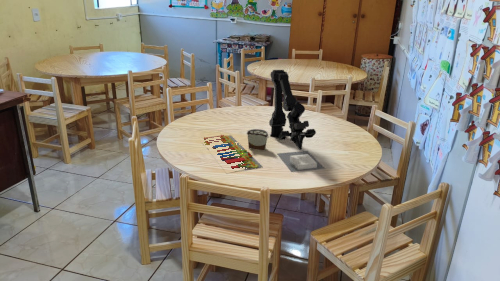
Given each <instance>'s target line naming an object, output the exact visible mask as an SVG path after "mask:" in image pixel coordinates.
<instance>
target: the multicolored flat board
mask: <svg viewBox="0 0 500 281" xmlns="http://www.w3.org/2000/svg"><path fill="white" fill-rule="evenodd" d="M214 137H220V138H221V139H216V140H221V141H222V142H223V143H228V144H221V145H215V146H213V147H212V148H213V149H216V148H218V147H226V146H229V148H228V149H222V150H217V152H220V151H226V150H229V149H231V150H236V151H230V152H225V153H218V154H217V155H222V156H220V158H221V160H222V161H225V162H226V163H227V164H231V163H235V162H241V161H242V162H243V163H244V164H243V163H241V164H242V165H241V164H238V165H236V166H231V168H232V169H234V168H240V167H242V168H243V167H245V171H249V170H255V168H256V169H261V167H262V168H264V167H263V165H262V164H261V163H260V162H259V161H258V160H257V159H256V158H255V157H254V156H253V155H252V154H251V153H250V152H249V151H248V150H247V149H245V148H244V147H243V145H241V144H240V143H239V142H238V141H237V139H236V138H234V137H233V136H232V135H231V134H229V135H225V134H223V135H222V134H220V135H216V136H208V137H205V136H204V137H203V139H204V140H206V139H208V138H214ZM209 141H214V140H209ZM214 142H219V141H214ZM235 142H238V143H237V145H236V143H235ZM204 143H206V144H205V145H210V143H212V142H208V141H205V142H204ZM239 144H240V145H239ZM223 145H224V146H223ZM241 149H242V150H241ZM232 152H237V153H233V154H229V153H232ZM223 154H229V155H223ZM235 154H239V155H240V156H234V155H235ZM227 156H229V157H227ZM231 156H234V157H231ZM223 157H227V158H223ZM238 157H239V158H238ZM246 168H247V169H246Z"/></svg>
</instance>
